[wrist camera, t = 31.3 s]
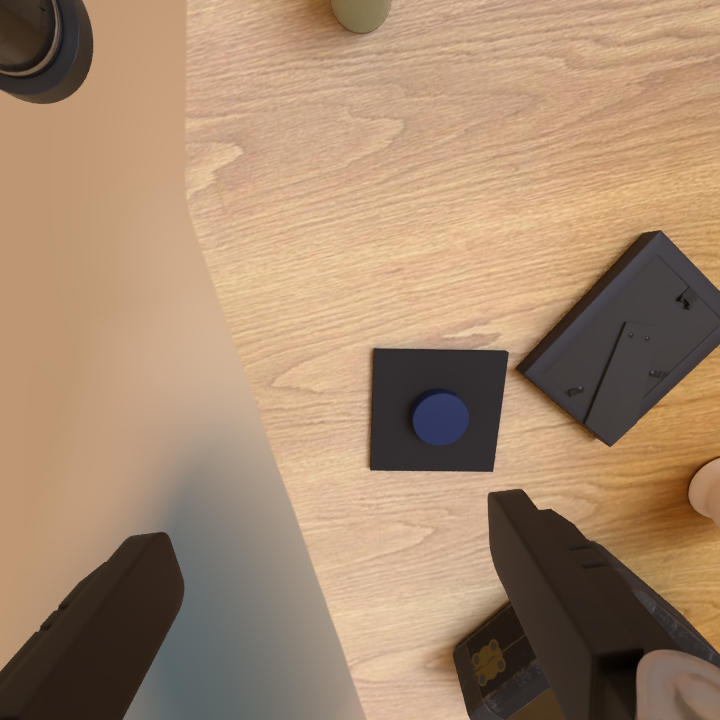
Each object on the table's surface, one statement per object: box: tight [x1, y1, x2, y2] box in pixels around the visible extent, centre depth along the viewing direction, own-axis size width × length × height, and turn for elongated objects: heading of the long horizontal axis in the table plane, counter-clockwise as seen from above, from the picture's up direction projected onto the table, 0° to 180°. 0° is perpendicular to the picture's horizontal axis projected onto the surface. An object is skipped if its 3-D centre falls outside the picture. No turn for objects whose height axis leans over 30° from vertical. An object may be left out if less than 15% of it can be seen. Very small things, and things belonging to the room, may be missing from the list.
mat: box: [370, 348, 509, 472], centre depth 37 cm, size 14×14×1 cm
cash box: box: [453, 542, 720, 720], centre depth 42 cm, size 25×20×8 cm
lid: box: [410, 388, 469, 445], centre depth 36 cm, size 6×6×2 cm
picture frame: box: [516, 230, 720, 447], centre depth 35 cm, size 13×2×18 cm
